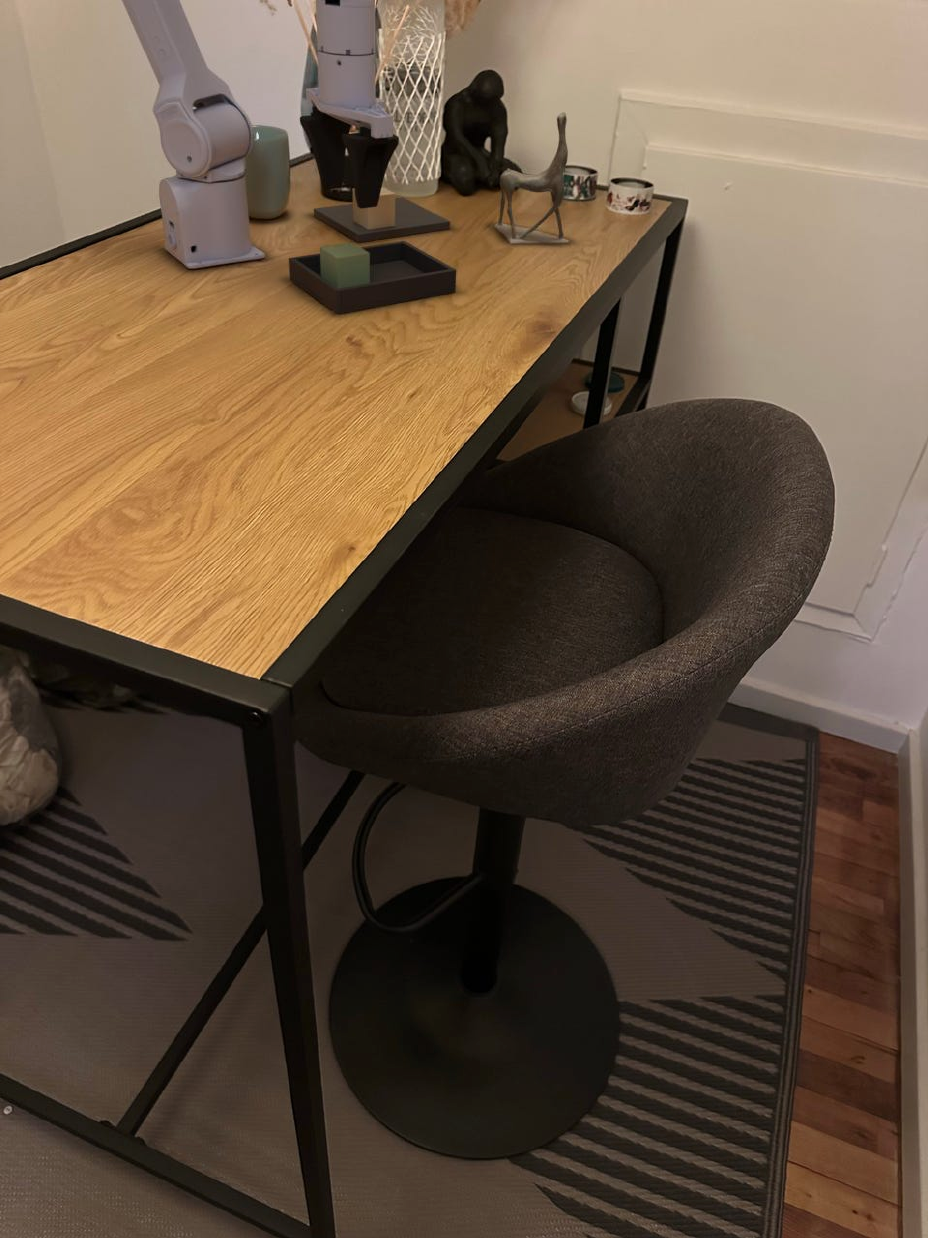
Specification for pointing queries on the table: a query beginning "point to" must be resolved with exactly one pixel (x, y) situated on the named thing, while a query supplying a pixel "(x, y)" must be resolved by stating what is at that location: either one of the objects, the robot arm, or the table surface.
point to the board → (406, 223)
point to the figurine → (536, 183)
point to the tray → (378, 278)
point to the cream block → (376, 212)
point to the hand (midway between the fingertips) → (349, 197)
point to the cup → (268, 173)
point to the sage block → (345, 265)
